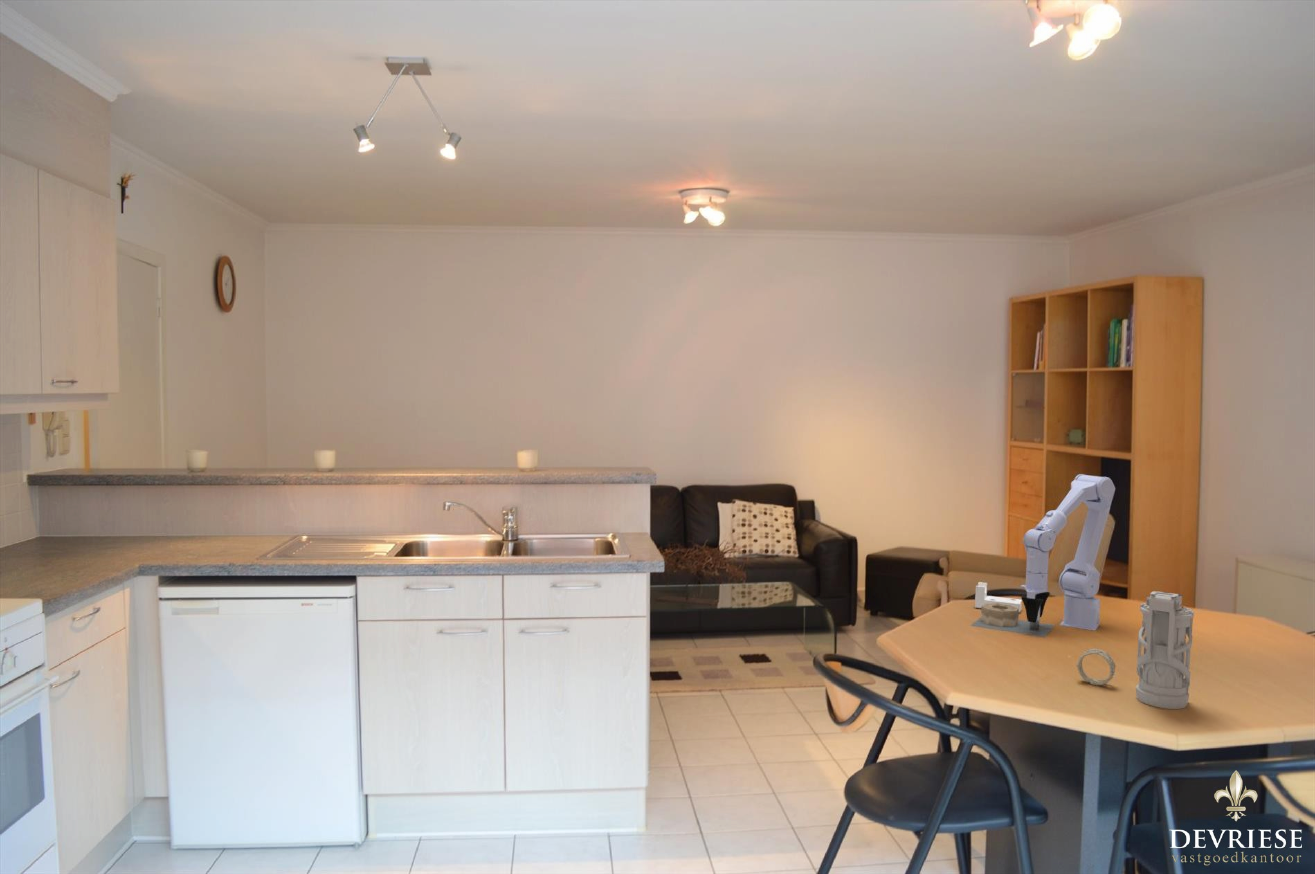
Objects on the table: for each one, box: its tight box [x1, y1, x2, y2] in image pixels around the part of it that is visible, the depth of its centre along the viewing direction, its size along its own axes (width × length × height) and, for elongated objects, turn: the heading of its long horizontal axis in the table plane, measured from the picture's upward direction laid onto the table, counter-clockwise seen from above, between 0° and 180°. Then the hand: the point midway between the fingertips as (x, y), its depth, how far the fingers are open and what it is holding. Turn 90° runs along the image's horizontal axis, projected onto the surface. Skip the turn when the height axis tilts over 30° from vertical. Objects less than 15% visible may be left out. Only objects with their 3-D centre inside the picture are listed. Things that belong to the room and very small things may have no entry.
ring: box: [980, 603, 1020, 627], centre depth 275 cm, size 10×10×4 cm
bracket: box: [974, 581, 1023, 614], centre depth 292 cm, size 13×7×8 cm, turn 65°
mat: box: [970, 617, 1056, 638], centre depth 272 cm, size 20×16×1 cm
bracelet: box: [1076, 648, 1116, 686], centre depth 220 cm, size 4×8×8 cm, turn 54°
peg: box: [1029, 608, 1041, 631], centre depth 268 cm, size 3×3×8 cm
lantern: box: [1135, 590, 1195, 710], centre depth 207 cm, size 13×10×25 cm
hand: (1034, 619), depth 268 cm, fingers open, 7 cm apart
